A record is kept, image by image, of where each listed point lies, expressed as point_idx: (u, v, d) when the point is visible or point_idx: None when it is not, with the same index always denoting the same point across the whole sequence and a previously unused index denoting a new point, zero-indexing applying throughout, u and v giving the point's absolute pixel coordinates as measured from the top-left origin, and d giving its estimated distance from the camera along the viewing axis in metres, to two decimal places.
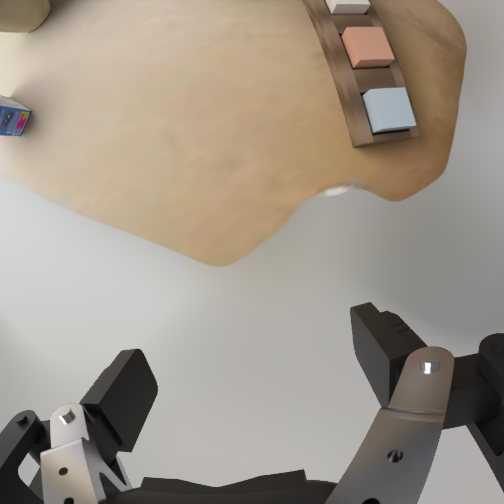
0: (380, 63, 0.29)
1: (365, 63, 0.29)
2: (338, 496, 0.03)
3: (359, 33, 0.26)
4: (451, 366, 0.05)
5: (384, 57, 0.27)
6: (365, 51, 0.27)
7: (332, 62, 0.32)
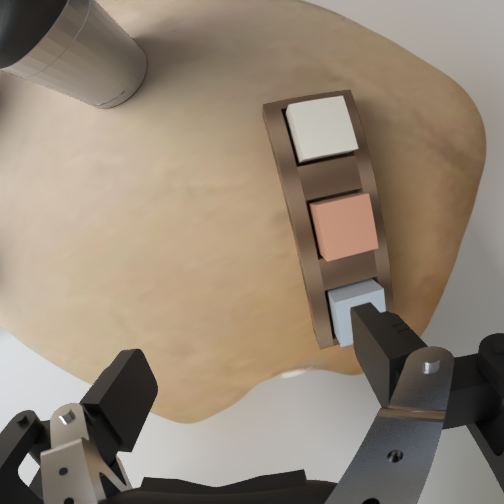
0: None
1: None
2: (339, 496, 0.03)
3: (333, 214, 0.24)
4: (451, 366, 0.05)
5: (363, 249, 0.25)
6: (337, 244, 0.25)
7: (295, 238, 0.30)
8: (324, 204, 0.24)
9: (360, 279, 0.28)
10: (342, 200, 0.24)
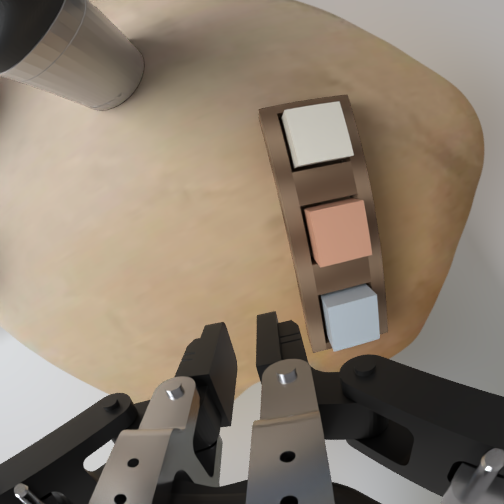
0: None
1: None
2: None
3: (327, 220, 0.25)
4: (302, 380, 0.06)
5: (357, 255, 0.25)
6: (331, 251, 0.25)
7: (290, 243, 0.30)
8: (318, 211, 0.24)
9: (354, 284, 0.28)
10: (336, 207, 0.24)
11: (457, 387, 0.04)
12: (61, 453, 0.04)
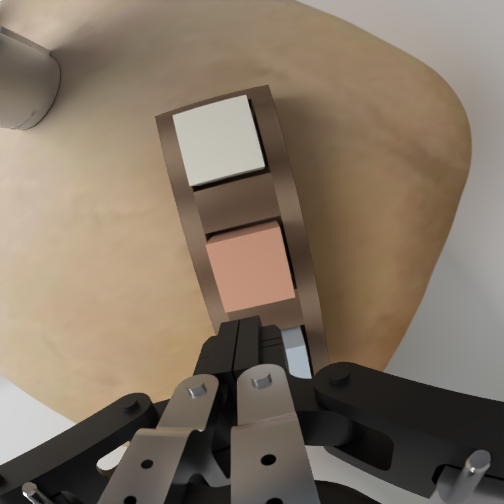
0: None
1: None
2: None
3: (229, 255, 0.19)
4: (275, 386, 0.06)
5: (274, 298, 0.20)
6: (237, 293, 0.20)
7: None
8: (217, 243, 0.19)
9: (281, 327, 0.23)
10: (241, 237, 0.19)
11: (434, 391, 0.05)
12: (74, 453, 0.04)
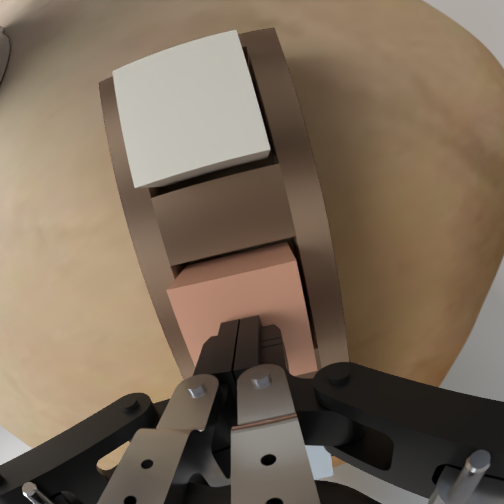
0: None
1: None
2: None
3: (207, 308, 0.11)
4: (275, 386, 0.06)
5: None
6: None
7: None
8: (186, 287, 0.11)
9: None
10: (227, 279, 0.11)
11: (435, 391, 0.05)
12: (73, 453, 0.04)
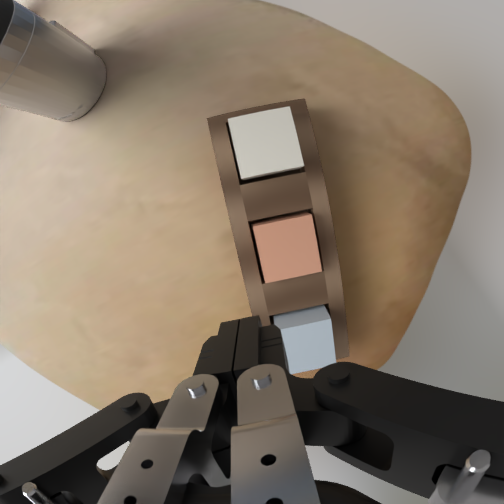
0: None
1: None
2: None
3: (271, 235, 0.25)
4: (275, 386, 0.06)
5: (305, 272, 0.25)
6: (275, 266, 0.25)
7: None
8: (262, 225, 0.24)
9: (309, 305, 0.27)
10: (281, 221, 0.24)
11: (435, 391, 0.05)
12: (74, 453, 0.04)
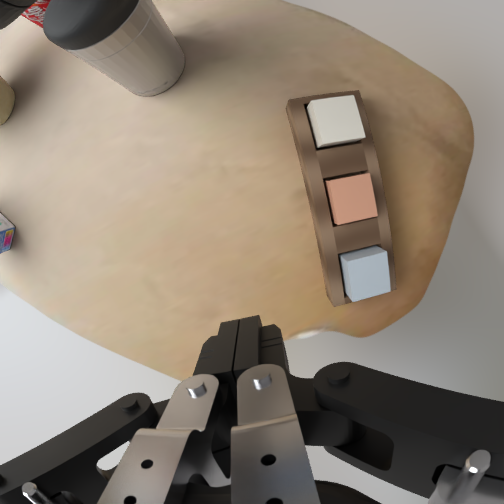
0: None
1: None
2: None
3: (342, 188, 0.31)
4: (275, 386, 0.06)
5: (366, 216, 0.32)
6: (345, 211, 0.32)
7: (313, 210, 0.35)
8: (335, 180, 0.31)
9: (367, 245, 0.34)
10: (349, 177, 0.31)
11: (435, 391, 0.05)
12: (74, 453, 0.04)
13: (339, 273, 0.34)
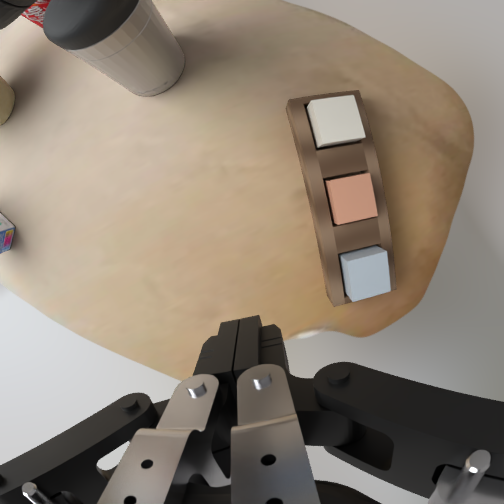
0: None
1: None
2: None
3: (342, 187, 0.31)
4: (275, 386, 0.06)
5: (366, 216, 0.32)
6: (345, 211, 0.32)
7: (313, 210, 0.35)
8: (335, 180, 0.31)
9: (367, 245, 0.34)
10: (349, 177, 0.31)
11: (434, 391, 0.05)
12: (74, 453, 0.04)
13: (339, 273, 0.34)
